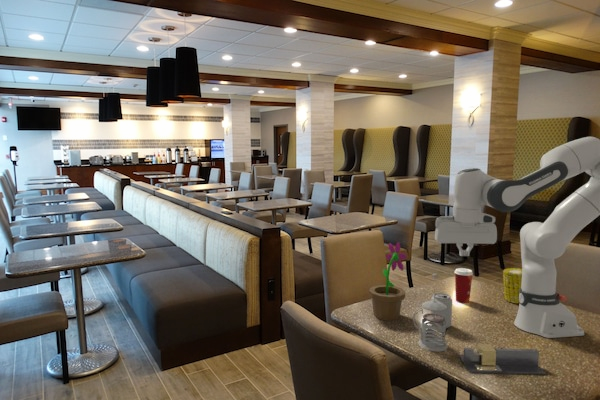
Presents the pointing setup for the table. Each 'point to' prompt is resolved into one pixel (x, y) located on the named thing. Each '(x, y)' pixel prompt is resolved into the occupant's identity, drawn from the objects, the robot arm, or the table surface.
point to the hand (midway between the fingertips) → (464, 255)
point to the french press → (427, 336)
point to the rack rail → (504, 362)
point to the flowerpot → (388, 290)
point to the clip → (487, 354)
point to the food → (512, 284)
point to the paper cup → (463, 284)
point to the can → (446, 313)
